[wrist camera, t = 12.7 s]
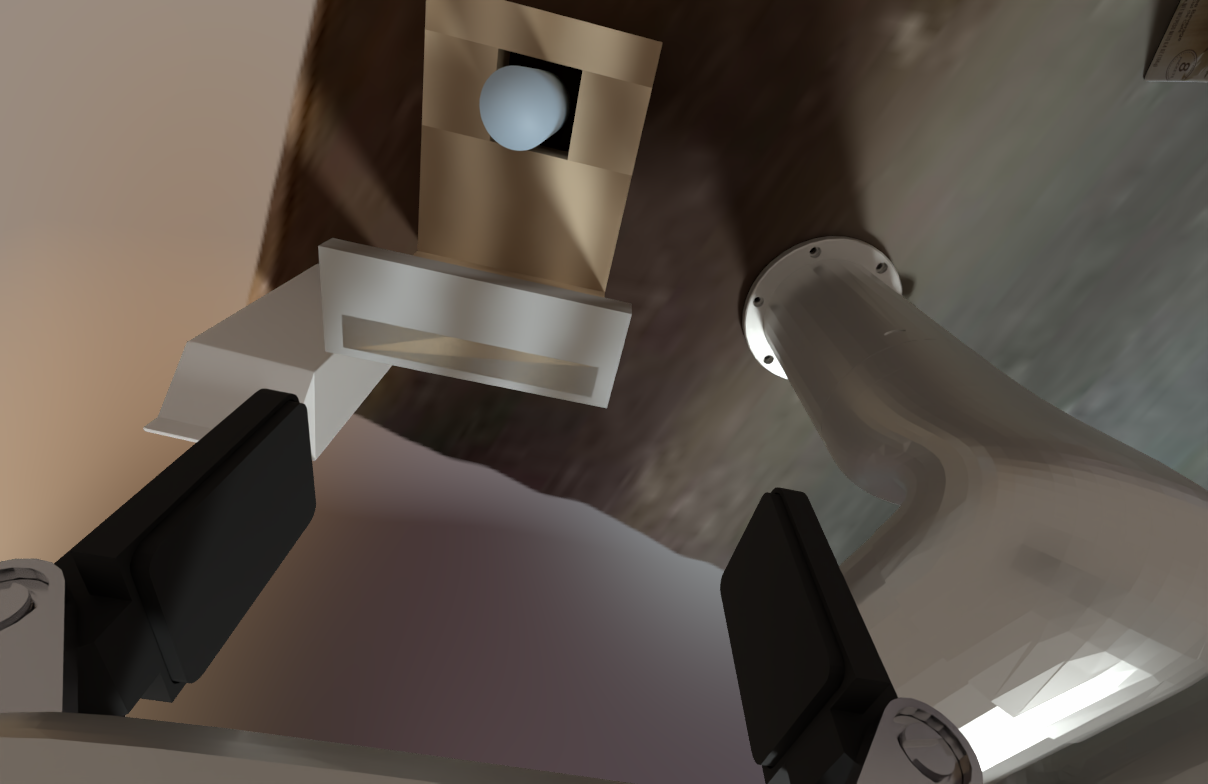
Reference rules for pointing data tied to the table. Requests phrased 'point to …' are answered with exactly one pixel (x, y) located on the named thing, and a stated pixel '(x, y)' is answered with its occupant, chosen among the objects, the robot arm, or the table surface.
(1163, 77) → the coffee box
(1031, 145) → the table surface
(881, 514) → the table surface
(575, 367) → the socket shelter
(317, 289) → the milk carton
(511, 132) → the peg
